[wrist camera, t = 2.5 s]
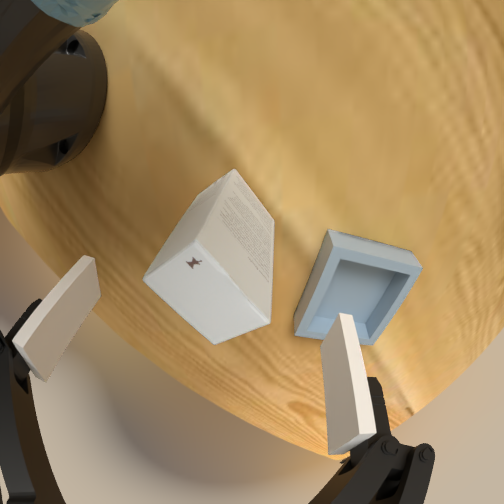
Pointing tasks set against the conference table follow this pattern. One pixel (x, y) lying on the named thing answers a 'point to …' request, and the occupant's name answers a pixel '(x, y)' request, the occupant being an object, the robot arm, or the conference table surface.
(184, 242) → the skincare box
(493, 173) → the conference table surface
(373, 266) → the blue-grey square tray
